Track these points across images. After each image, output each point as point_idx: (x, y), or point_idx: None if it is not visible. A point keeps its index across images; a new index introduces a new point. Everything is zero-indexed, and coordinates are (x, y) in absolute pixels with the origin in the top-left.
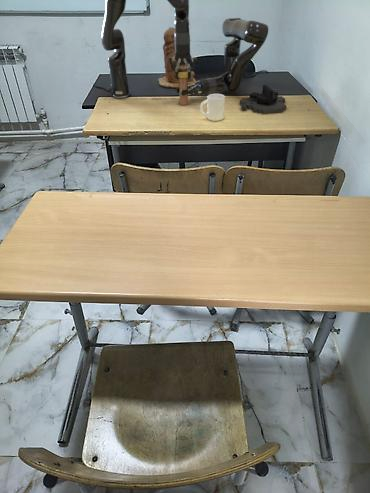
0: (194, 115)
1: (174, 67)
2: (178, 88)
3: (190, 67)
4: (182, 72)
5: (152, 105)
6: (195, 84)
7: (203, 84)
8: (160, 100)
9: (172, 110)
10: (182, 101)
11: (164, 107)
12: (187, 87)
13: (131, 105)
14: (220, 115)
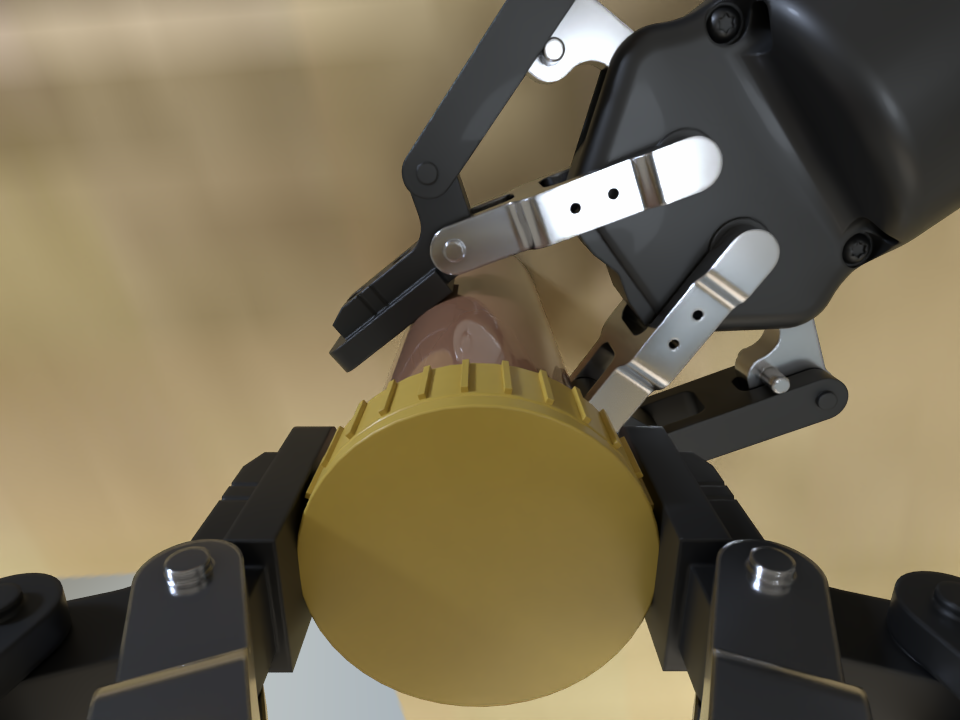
0: (650, 648)
1: (50, 691)
2: (369, 354)
3: (836, 632)
4: (438, 495)
5: (62, 393)
6: (720, 16)
7: (936, 219)
8: (84, 176)
9: None
10: None
11: (249, 451)
12: None
13: None
14: None
